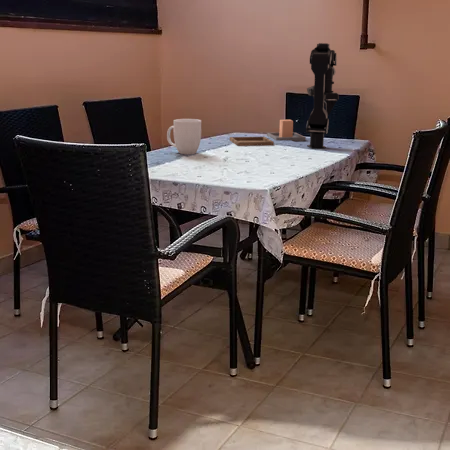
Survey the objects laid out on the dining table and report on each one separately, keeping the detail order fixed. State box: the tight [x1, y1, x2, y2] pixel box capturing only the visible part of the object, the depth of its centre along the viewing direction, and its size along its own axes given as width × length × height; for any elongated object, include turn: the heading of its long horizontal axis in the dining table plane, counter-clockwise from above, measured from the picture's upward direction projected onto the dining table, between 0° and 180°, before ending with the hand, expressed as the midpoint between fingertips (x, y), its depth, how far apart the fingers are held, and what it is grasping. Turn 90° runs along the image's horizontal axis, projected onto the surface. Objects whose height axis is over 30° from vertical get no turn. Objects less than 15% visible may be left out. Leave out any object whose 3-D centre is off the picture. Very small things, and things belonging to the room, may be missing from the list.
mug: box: [166, 118, 202, 155], centre depth 260 cm, size 15×11×13 cm
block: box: [278, 119, 294, 137], centre depth 302 cm, size 5×5×8 cm
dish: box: [229, 136, 275, 147], centre depth 286 cm, size 16×16×2 cm
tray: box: [266, 131, 307, 142], centre depth 303 cm, size 16×14×2 cm
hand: (324, 114), depth 297 cm, fingers open, 9 cm apart
